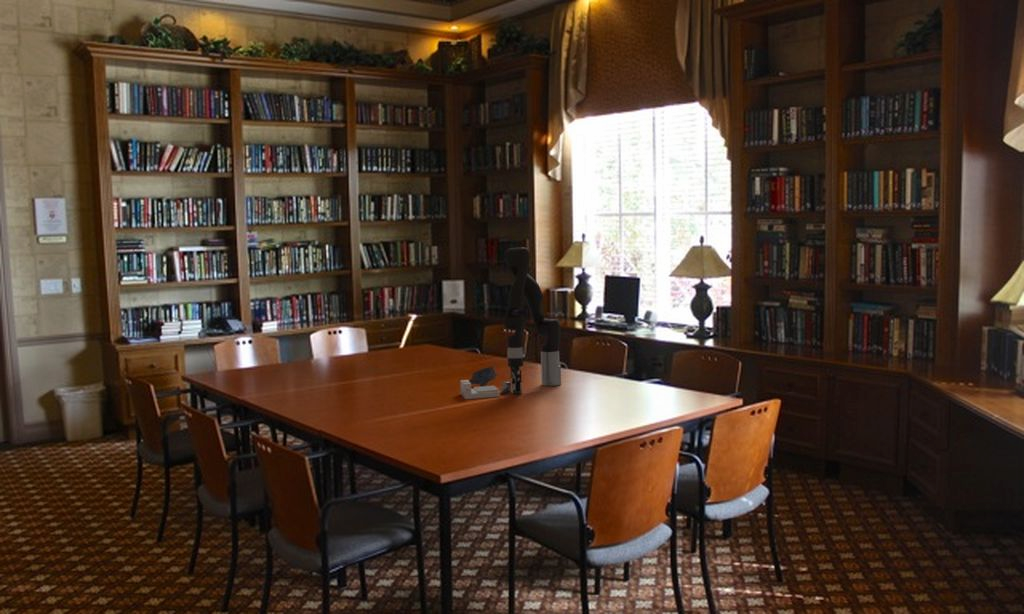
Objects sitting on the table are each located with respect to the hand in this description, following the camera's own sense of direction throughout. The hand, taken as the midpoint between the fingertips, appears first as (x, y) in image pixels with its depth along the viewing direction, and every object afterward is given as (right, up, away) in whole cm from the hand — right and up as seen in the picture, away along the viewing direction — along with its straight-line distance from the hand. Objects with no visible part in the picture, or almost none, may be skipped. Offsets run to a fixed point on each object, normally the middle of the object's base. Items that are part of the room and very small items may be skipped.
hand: (516, 389), depth 434 cm
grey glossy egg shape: (+1, -2, 0) cm, 2 cm away
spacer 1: (-5, -2, +5) cm, 7 cm away
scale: (-17, -3, 0) cm, 18 cm away
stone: (-17, -1, +24) cm, 30 cm away
